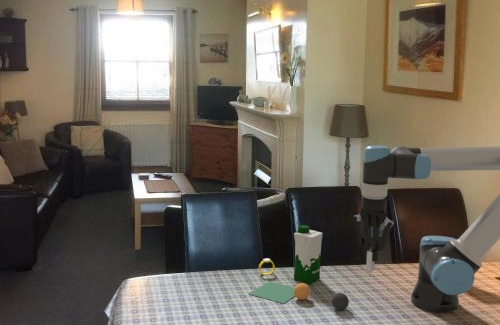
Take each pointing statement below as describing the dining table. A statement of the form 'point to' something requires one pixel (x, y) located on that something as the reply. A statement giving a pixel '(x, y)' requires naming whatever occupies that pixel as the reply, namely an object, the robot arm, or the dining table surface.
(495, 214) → the robot arm
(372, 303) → the dining table surface
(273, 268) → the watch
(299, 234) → the milk carton
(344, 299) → the cue ball black
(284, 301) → the green mark
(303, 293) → the ball orange
